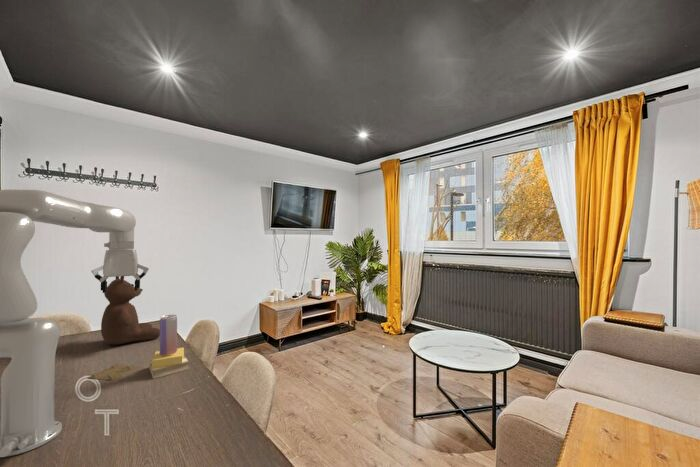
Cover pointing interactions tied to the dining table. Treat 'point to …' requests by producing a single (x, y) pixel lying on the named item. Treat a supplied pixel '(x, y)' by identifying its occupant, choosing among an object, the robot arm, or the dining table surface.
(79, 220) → the robot arm
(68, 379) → the dining table surface
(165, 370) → the tower base
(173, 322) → the beverage can
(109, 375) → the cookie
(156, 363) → the tower top
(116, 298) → the stuffed bear
